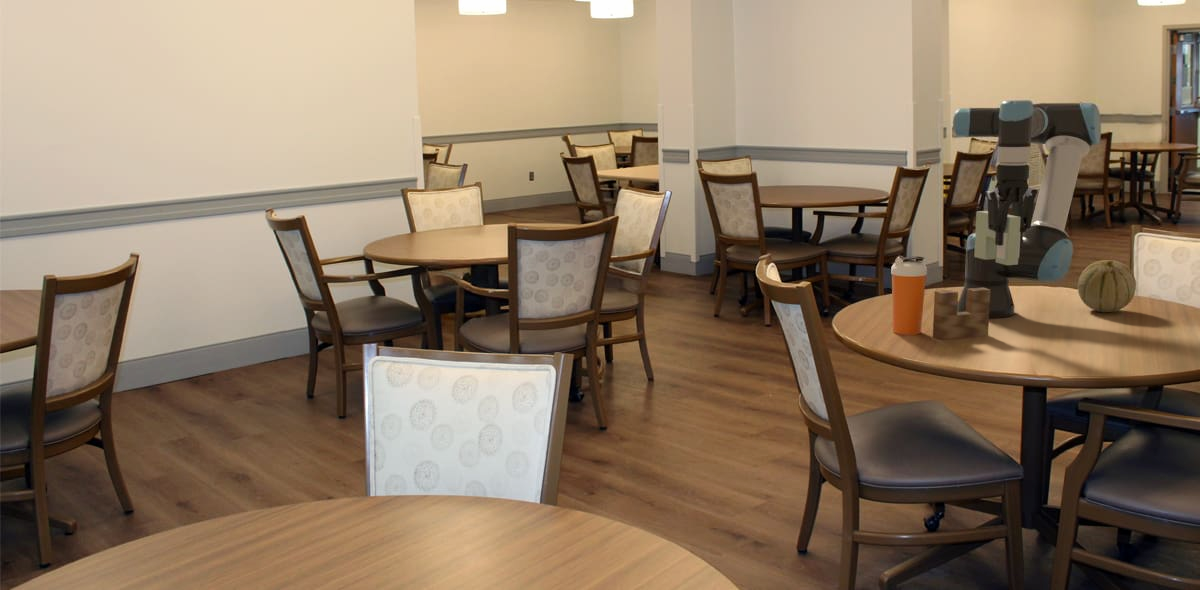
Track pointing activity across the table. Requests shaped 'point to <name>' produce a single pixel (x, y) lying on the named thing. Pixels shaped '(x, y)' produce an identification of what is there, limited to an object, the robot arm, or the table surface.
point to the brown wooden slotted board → (961, 314)
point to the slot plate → (986, 239)
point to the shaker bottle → (908, 294)
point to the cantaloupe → (1107, 286)
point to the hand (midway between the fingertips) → (1007, 257)
